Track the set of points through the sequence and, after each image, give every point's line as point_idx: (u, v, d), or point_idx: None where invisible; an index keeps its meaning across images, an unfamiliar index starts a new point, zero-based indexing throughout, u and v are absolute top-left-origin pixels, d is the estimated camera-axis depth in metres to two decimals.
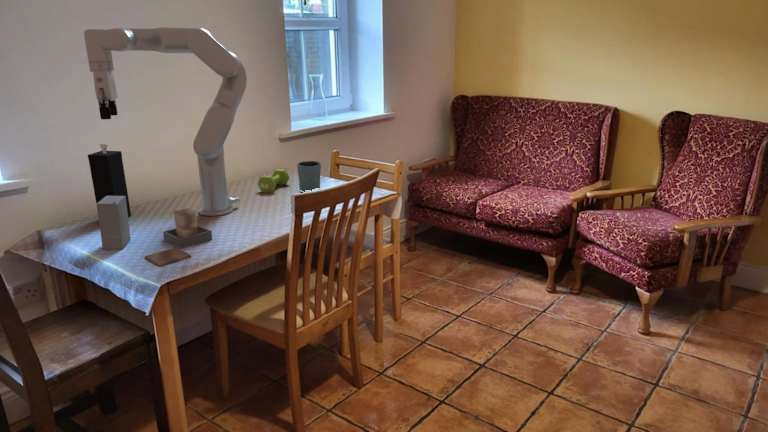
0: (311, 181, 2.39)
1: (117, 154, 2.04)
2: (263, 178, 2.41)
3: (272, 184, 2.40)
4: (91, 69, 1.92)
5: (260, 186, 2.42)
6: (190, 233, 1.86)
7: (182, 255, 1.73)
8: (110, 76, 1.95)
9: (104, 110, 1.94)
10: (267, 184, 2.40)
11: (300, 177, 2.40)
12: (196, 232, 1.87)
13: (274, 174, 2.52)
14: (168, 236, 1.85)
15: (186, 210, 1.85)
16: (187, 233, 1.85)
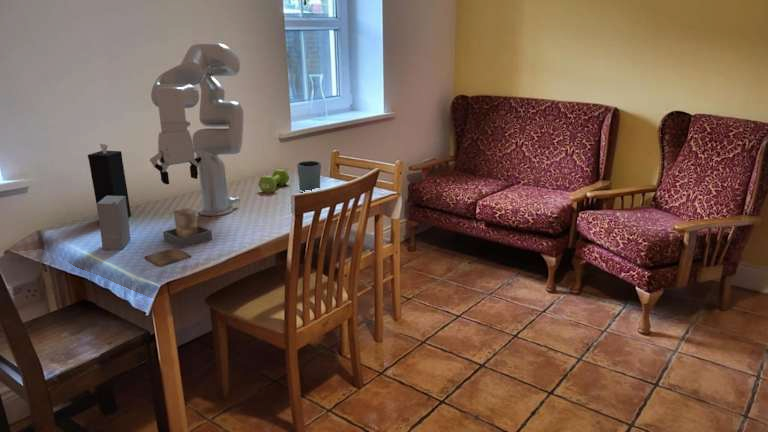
0: (311, 181, 2.39)
1: (117, 154, 2.04)
2: (264, 178, 2.40)
3: (273, 184, 2.40)
4: (186, 129, 1.77)
5: (261, 186, 2.42)
6: (190, 233, 1.86)
7: (182, 255, 1.73)
8: None
9: None
10: (268, 184, 2.40)
11: (300, 177, 2.40)
12: (196, 232, 1.87)
13: (274, 174, 2.52)
14: (168, 236, 1.85)
15: (186, 210, 1.85)
16: (187, 233, 1.85)
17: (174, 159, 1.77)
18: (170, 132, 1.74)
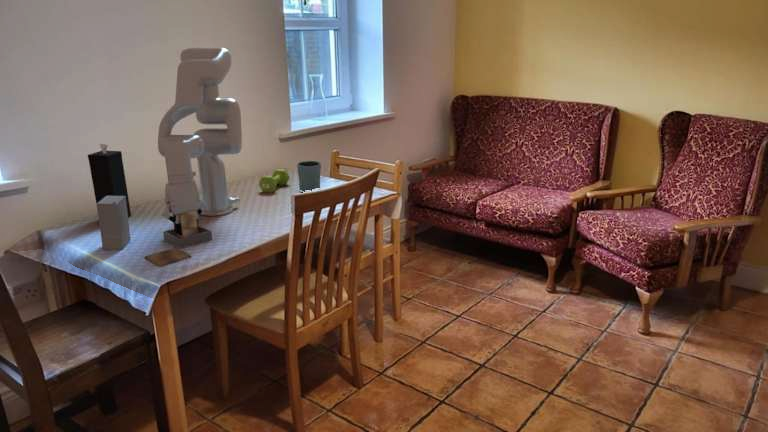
0: (311, 181, 2.39)
1: (117, 154, 2.04)
2: (264, 178, 2.40)
3: (273, 184, 2.40)
4: (192, 179, 1.82)
5: (261, 186, 2.42)
6: (190, 233, 1.86)
7: (182, 255, 1.73)
8: None
9: None
10: (268, 184, 2.40)
11: (300, 177, 2.40)
12: (196, 232, 1.87)
13: (274, 174, 2.52)
14: (168, 236, 1.85)
15: None
16: (187, 233, 1.85)
17: (180, 209, 1.82)
18: (177, 183, 1.79)
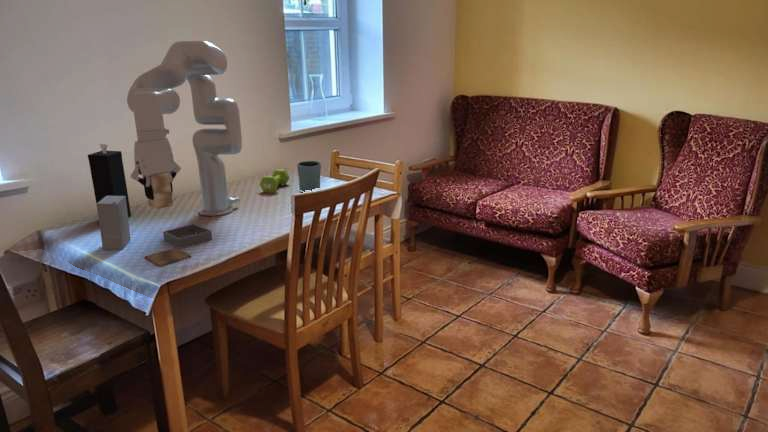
0: (311, 181, 2.39)
1: (117, 154, 2.04)
2: (265, 178, 2.40)
3: (275, 184, 2.40)
4: (164, 137, 1.62)
5: (262, 186, 2.41)
6: (163, 198, 1.66)
7: (182, 255, 1.73)
8: None
9: None
10: (269, 184, 2.40)
11: (300, 177, 2.40)
12: (170, 197, 1.68)
13: (274, 174, 2.52)
14: (168, 236, 1.85)
15: None
16: (159, 197, 1.65)
17: (151, 170, 1.62)
18: (147, 141, 1.59)
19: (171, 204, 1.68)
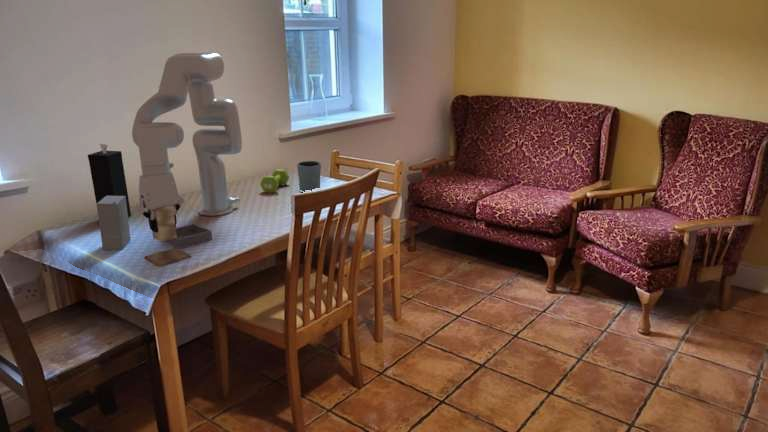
0: (311, 181, 2.39)
1: (117, 154, 2.04)
2: (266, 178, 2.40)
3: (276, 184, 2.40)
4: (169, 171, 1.65)
5: (263, 186, 2.41)
6: (167, 230, 1.69)
7: (182, 255, 1.73)
8: None
9: None
10: (270, 184, 2.40)
11: (300, 177, 2.40)
12: (174, 229, 1.70)
13: (274, 174, 2.52)
14: None
15: None
16: (163, 230, 1.68)
17: (156, 204, 1.65)
18: (152, 175, 1.62)
19: (175, 236, 1.71)
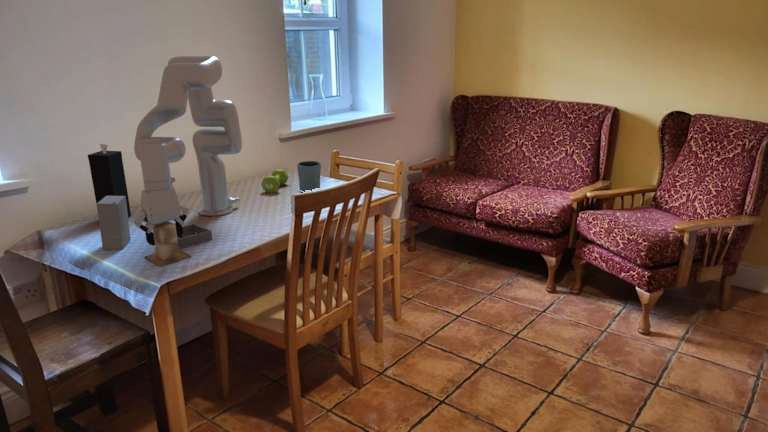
0: (311, 181, 2.39)
1: (117, 154, 2.04)
2: (267, 178, 2.40)
3: (277, 184, 2.41)
4: (170, 186, 1.67)
5: (264, 186, 2.41)
6: (169, 249, 1.71)
7: (182, 255, 1.73)
8: None
9: None
10: (272, 184, 2.40)
11: (300, 177, 2.40)
12: (176, 247, 1.72)
13: (273, 174, 2.52)
14: None
15: (165, 224, 1.71)
16: (166, 249, 1.70)
17: (158, 218, 1.67)
18: (154, 190, 1.63)
19: (178, 254, 1.73)
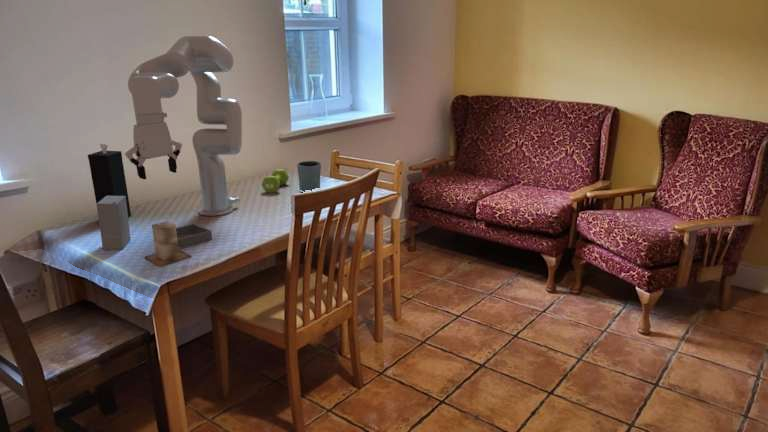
0: (311, 181, 2.39)
1: (117, 154, 2.04)
2: (268, 178, 2.40)
3: (277, 184, 2.40)
4: (162, 120, 1.68)
5: (265, 187, 2.41)
6: (169, 249, 1.71)
7: (182, 255, 1.73)
8: None
9: None
10: (272, 184, 2.40)
11: (300, 177, 2.40)
12: (176, 247, 1.72)
13: (274, 174, 2.52)
14: None
15: (165, 224, 1.71)
16: (166, 249, 1.70)
17: (150, 153, 1.68)
18: (146, 124, 1.64)
19: (178, 254, 1.73)
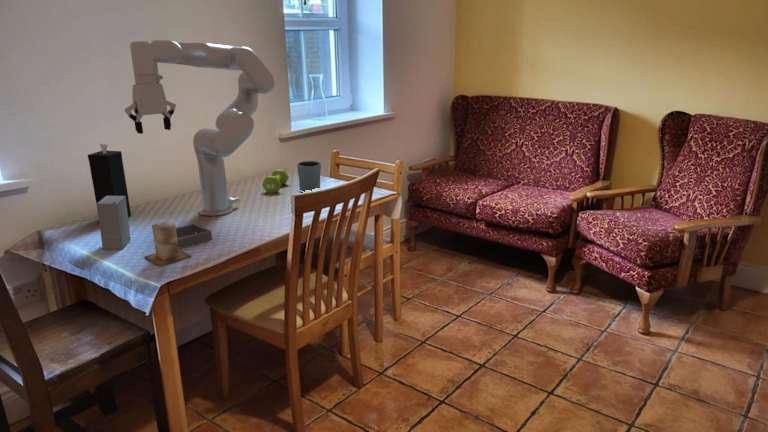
0: (311, 181, 2.39)
1: (117, 154, 2.04)
2: (269, 178, 2.40)
3: (278, 184, 2.41)
4: (158, 81, 1.89)
5: (265, 187, 2.41)
6: (169, 249, 1.71)
7: (182, 255, 1.73)
8: None
9: None
10: (273, 184, 2.40)
11: (300, 177, 2.40)
12: (176, 247, 1.72)
13: (274, 174, 2.52)
14: None
15: (165, 224, 1.71)
16: (166, 249, 1.70)
17: (147, 110, 1.89)
18: (143, 83, 1.86)
19: (178, 254, 1.73)
